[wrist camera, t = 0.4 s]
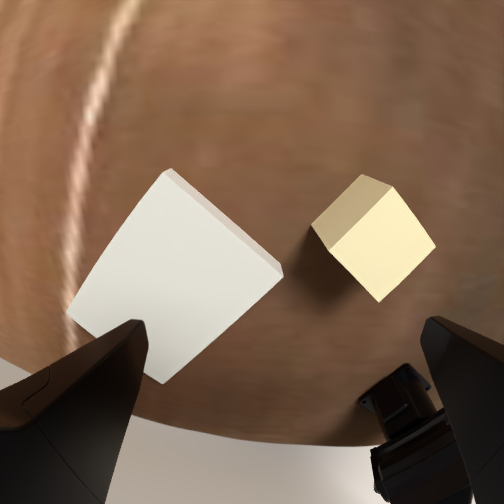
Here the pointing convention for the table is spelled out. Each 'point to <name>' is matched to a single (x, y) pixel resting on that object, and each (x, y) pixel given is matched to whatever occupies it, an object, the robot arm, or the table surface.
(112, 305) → the notebook
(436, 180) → the table surface
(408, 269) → the sticky note cube
